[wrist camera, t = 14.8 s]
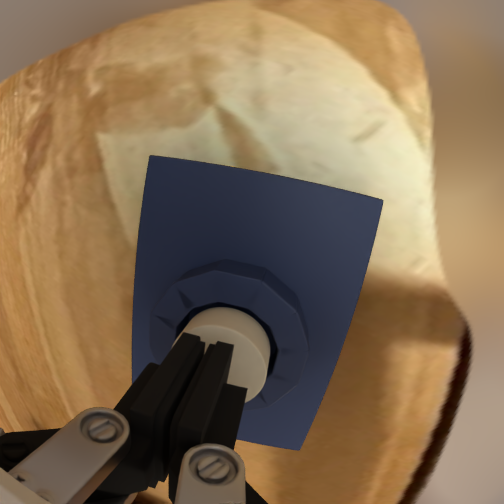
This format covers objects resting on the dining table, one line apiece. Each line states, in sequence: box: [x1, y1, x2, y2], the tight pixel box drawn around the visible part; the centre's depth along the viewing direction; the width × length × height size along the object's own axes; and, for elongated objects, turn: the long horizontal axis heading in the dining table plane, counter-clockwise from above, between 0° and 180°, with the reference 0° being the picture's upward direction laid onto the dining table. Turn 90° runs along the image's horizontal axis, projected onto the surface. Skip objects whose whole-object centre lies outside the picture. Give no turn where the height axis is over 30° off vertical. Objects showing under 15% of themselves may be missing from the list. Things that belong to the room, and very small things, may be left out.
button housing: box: [132, 155, 383, 450], centre depth 14 cm, size 14×10×4 cm
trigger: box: [171, 307, 270, 402], centre depth 11 cm, size 4×4×2 cm
